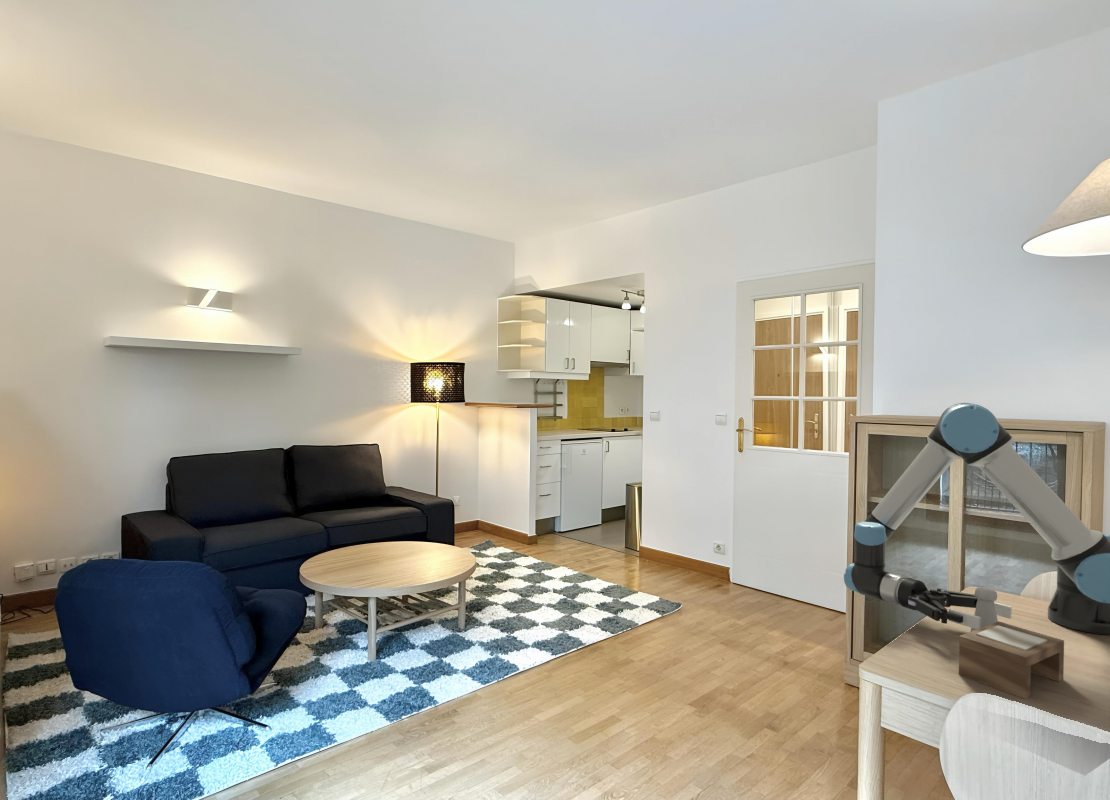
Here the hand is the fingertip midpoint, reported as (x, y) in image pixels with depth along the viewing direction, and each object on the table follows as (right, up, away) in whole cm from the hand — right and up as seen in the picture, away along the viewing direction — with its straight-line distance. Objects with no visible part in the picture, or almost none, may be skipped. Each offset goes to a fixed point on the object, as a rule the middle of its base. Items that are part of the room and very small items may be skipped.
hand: (995, 618), depth 144 cm
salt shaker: (-1, -7, +2) cm, 7 cm away
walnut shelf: (-7, -7, -14) cm, 17 cm away
